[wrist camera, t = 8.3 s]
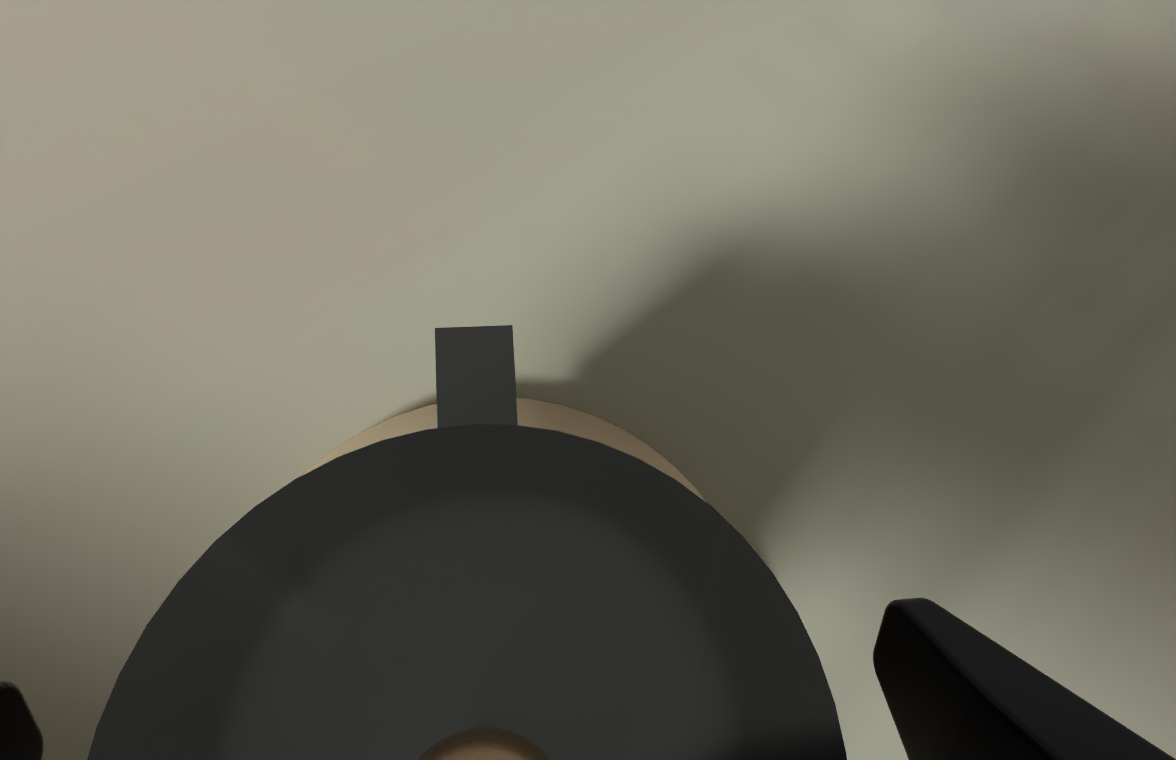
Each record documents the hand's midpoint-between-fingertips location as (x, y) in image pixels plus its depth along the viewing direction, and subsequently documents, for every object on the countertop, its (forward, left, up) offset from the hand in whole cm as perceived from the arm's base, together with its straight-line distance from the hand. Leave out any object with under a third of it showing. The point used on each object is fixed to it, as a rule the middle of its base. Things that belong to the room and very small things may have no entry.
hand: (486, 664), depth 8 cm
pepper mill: (-1, 0, -8) cm, 9 cm away
